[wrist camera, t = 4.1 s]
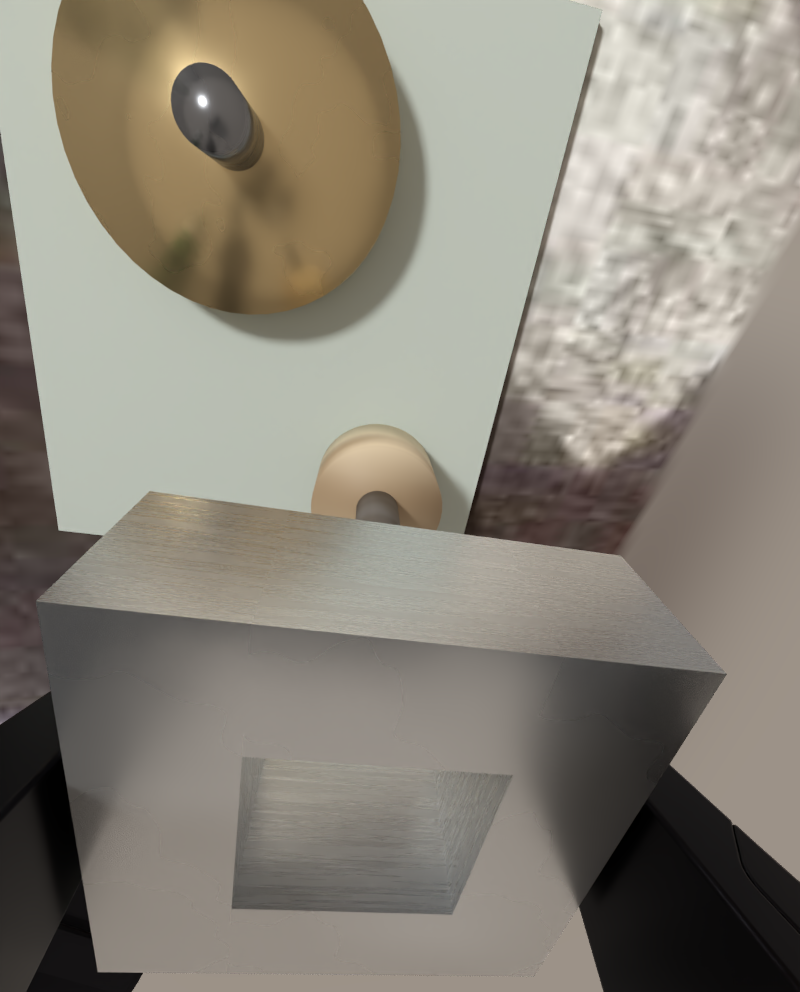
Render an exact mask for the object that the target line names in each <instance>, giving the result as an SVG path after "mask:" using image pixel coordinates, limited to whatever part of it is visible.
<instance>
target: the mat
mask: <svg viewBox="0 0 800 992" xmlns="http://www.w3.org/2000/svg"><path fill="white" fill-rule="evenodd" d="M363 2H364V3H365V5H366V7H367V8H368V10H369V12H370V14H371V16H372V18H373V21H374V23H375V25H376V27H377V29H378V31H379V33H380V36H381V38H382V41H383V44H384V47H385V50H386V53H387V56H388V59H389V62H390V65H391V69H392V73H393V78H394V82H395V86H396V91H397V97H398V105H399V113H400V132H401V149H400V161H399V172H398V177H397V182H396V187H395V192H394V196H393V200H392V203H391V206H390V209H389V212H388V215H387V218H386V221H385V224H384V226H383V228H382V231H381V233H380V235H379V237H378V239H377V241H376V243H375V245H374V246H373V248H372V249H371V251H370V253H369V254H368V256H367V257H366V259H365V260H364V261H363V262H362V264H361V265H360V266H359V267H358V268H357V270H356V271H355V272H354V273H353V274H352V275H351V276H350V277H349V278H348V279H347V280H345V281H344V282H343V283H342V284H341V285H340V286H338V287H337V288H335V289H334V290H333V291H331V292H330V293H328V294H327V295H325V296H323V297H321V298H319V299H317V300H315V301H313V302H311V303H309V304H306V305H304V306H301V307H298V308H294V309H291V310H288V311H284V312H278V313H272V314H254V315H248V314H239V313H229V312H225V311H221V310H217V309H213V308H209V307H207V306H204V305H201V304H199V303H196V302H193V301H191V300H189V299H187V298H185V297H183V296H181V295H179V294H177V293H175V292H173V291H172V290H170V289H168V288H167V287H165V286H164V285H163V284H161V283H160V282H158V281H157V280H155V279H154V278H152V277H151V276H150V275H149V274H147V273H146V272H145V271H144V270H143V269H142V268H140V267H139V266H138V265H137V264H136V263H134V262H133V261H132V260H131V259H130V257H129V256H128V255H127V254H126V253H125V252H124V251H123V250H122V249H121V248H120V247H119V246H118V245H117V244H116V243H115V241H114V240H113V239H112V237H111V236H110V235H109V234H108V232H107V231H106V230H105V228H104V227H103V226H102V225H101V223H100V222H99V220H98V218H97V217H96V215H95V214H94V212H93V210H92V209H91V207H90V206H89V204H88V203H87V201H86V199H85V197H84V195H83V193H82V191H81V189H80V187H79V185H78V183H77V181H76V179H75V177H74V174H73V172H72V169H71V166H70V164H69V161H68V158H67V156H66V153H65V151H64V147H63V143H62V139H61V136H60V132H59V128H58V125H57V119H56V113H55V107H54V101H53V93H52V73H51V61H52V46H53V35H54V30H55V25H56V19H57V14H58V9H59V6H60V3H61V0H0V132H1V139H2V145H3V152H4V159H5V166H6V173H7V180H8V186H9V193H10V200H11V207H12V214H13V221H14V228H15V234H16V241H17V248H18V255H19V262H20V269H21V275H22V282H23V289H24V296H25V303H26V310H27V316H28V323H29V330H30V337H31V344H32V351H33V358H34V364H35V371H36V378H37V385H38V392H39V399H40V405H41V412H42V419H43V426H44V433H45V440H46V446H47V453H48V460H49V467H50V474H51V481H52V488H53V494H54V501H55V508H56V515H57V522H58V529H59V530H60V531H69V532H78V533H87V534H95V535H105V534H106V533H107V532H108V531H109V530H110V529H111V528H112V527H113V526H114V525H115V524H116V523H117V522H118V521H119V520H120V519H121V518H122V517H123V516H124V515H125V514H126V513H128V512H129V511H130V510H131V509H132V508H133V507H134V506H135V505H136V504H137V503H138V502H139V501H140V500H141V499H142V498H143V497H144V496H145V495H146V494H147V493H148V492H149V491H153V492H160V493H167V494H175V495H182V496H189V497H196V498H204V499H211V500H218V501H226V502H233V503H240V504H247V505H255V506H262V507H269V508H276V509H284V510H291V511H298V512H306V513H311V500H312V494H313V490H314V486H315V483H316V479H317V475H318V471H319V467H320V464H321V461H322V458H323V456H324V454H325V452H326V450H327V449H328V447H329V446H330V445H331V444H332V443H333V441H334V440H335V439H337V438H338V437H339V436H340V435H342V434H343V433H345V432H347V431H348V430H351V429H353V428H355V427H359V426H362V425H368V424H383V425H389V426H393V427H396V428H399V429H401V430H403V431H405V432H407V433H408V434H410V435H411V436H413V437H414V438H415V439H416V440H417V441H418V442H419V443H420V444H421V445H422V446H423V448H424V449H425V451H426V453H427V455H428V457H429V459H430V462H431V465H432V468H433V471H434V474H435V477H436V480H437V483H438V486H439V489H440V493H441V497H442V514H441V519H440V523H439V526H438V528H437V530H436V531H444V532H451V533H458V534H464V531H465V528H466V524H467V520H468V516H469V512H470V509H471V505H472V501H473V497H474V494H475V490H476V486H477V482H478V478H479V475H480V471H481V467H482V463H483V460H484V456H485V452H486V448H487V444H488V441H489V437H490V433H491V429H492V426H493V422H494V418H495V414H496V410H497V407H498V403H499V399H500V395H501V391H502V388H503V384H504V380H505V376H506V373H507V369H508V365H509V361H510V357H511V354H512V350H513V346H514V342H515V339H516V335H517V331H518V327H519V323H520V320H521V316H522V312H523V308H524V305H525V301H526V297H527V293H528V289H529V286H530V282H531V278H532V274H533V271H534V267H535V263H536V259H537V255H538V252H539V248H540V244H541V240H542V236H543V233H544V229H545V225H546V221H547V218H548V214H549V210H550V206H551V202H552V199H553V195H554V191H555V187H556V184H557V180H558V176H559V172H560V168H561V165H562V161H563V157H564V153H565V150H566V146H567V142H568V138H569V134H570V131H571V127H572V123H573V119H574V115H575V112H576V108H577V104H578V100H579V97H580V93H581V89H582V85H583V81H584V78H585V74H586V70H587V66H588V63H589V59H590V55H591V51H592V47H593V44H594V40H595V36H596V32H597V29H598V25H599V21H600V17H601V13H602V10H601V9H598V8H594V7H591V6H587V5H584V4H580V3H577V2H573V1H570V0H363Z"/></svg>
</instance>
